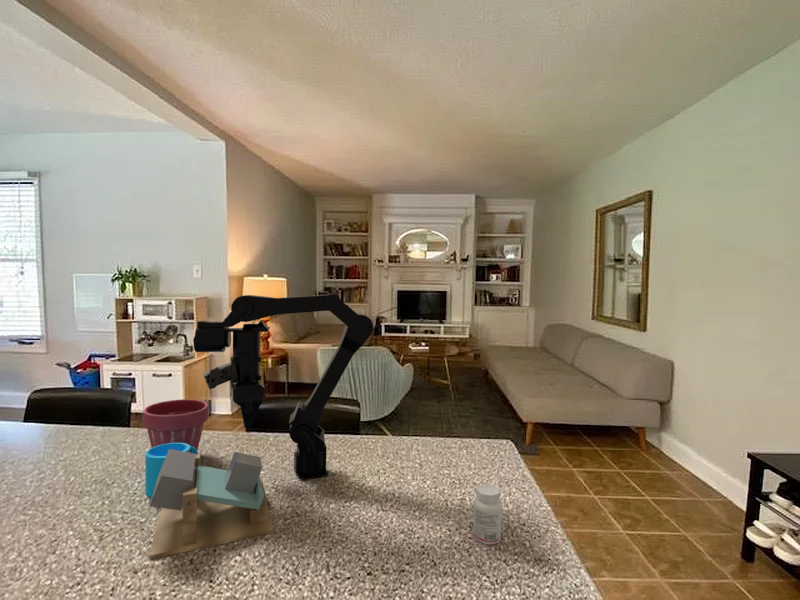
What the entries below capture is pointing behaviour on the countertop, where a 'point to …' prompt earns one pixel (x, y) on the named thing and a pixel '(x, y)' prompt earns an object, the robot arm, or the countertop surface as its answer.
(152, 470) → the mug
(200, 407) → the plant pot
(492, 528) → the pill bottle
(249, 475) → the gray cube
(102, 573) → the countertop surface
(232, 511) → the frame
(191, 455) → the trapdoor
